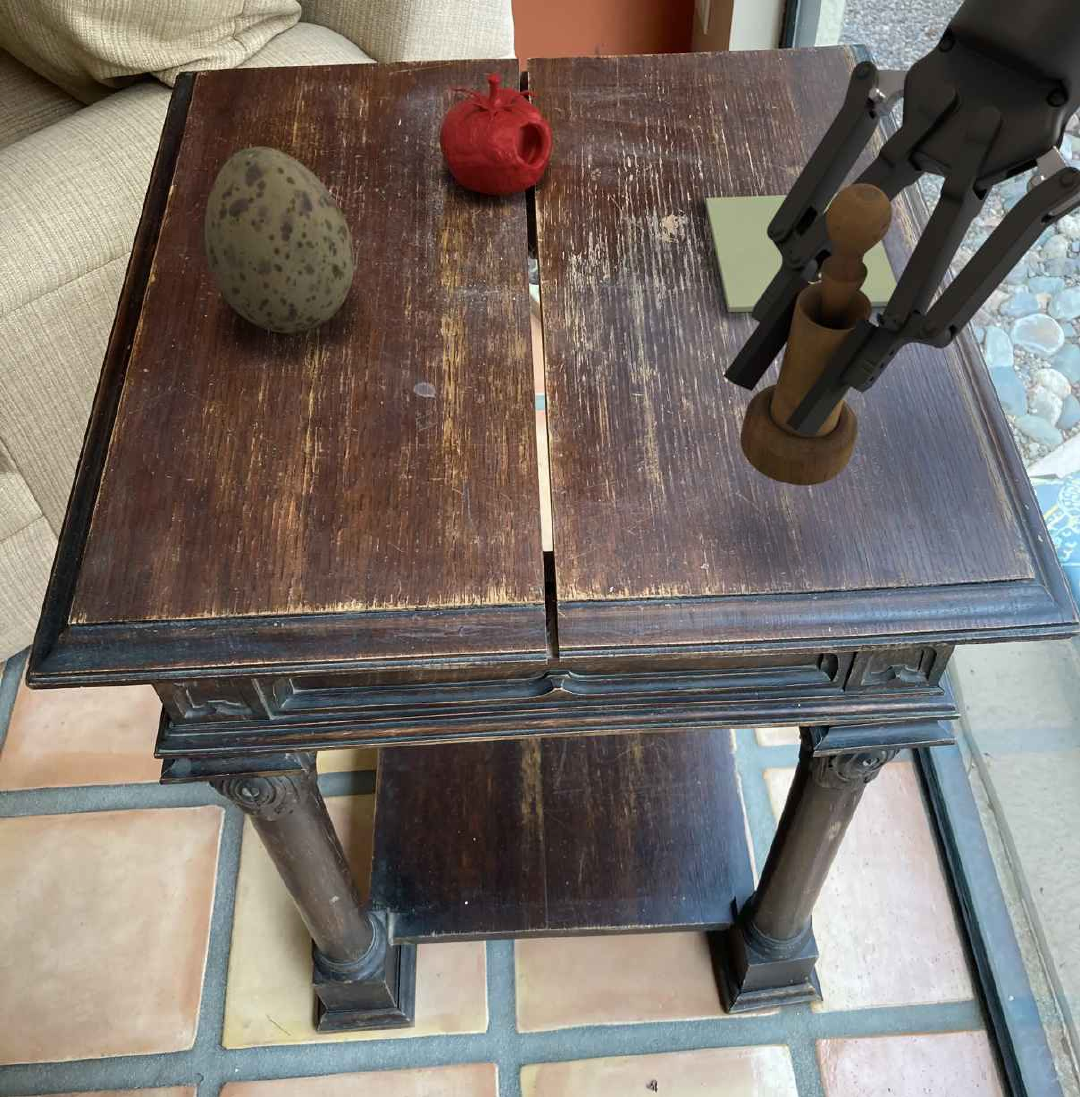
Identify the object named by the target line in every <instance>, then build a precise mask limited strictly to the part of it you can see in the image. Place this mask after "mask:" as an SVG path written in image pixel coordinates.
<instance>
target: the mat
mask: <svg viewBox="0 0 1080 1097" xmlns="http://www.w3.org/2000/svg"><path fill="white" fill-rule="evenodd" d="M838 193H839V192H836V194H835V195H834V197H835V196H836V195H837V194H838ZM787 195H788V194H779V195H778V194H777V195H776V194H775V195H749V196H748V195H747V196H725V197H724V196H722V197H706V198H705V201H704V202H705V203H704V204H705V209H706V213H707V219H708V223H709V228H710V229H709V230H710V232H711V233H710V234H711V237H712V242H713V247H714V251H715V256H716V262H717V266H718V271H719V275H720V276H719V277H720V280H721V285H722V289H723V295H724V299H725V304H726V309H727V312H728V313H745V312H746V313H747V312H748V313H749V312H752V311H753V307H754V306H755V304H756V303H757V301H758V300H759V298H761V295H762V294H763V293H764V292H765V290H766V288H767V287H768V285H769V284H770V282H771V281H772V280H773V278H774V277H775V275H776V274H777V272H778V271H779V269H780V267H781V265H782V255H781V253H780V252H779V250H778V249H777V247H776V246H775V244H774V243H773V241H772V240H771V239H770V238H769V237H768V235H767V228H768V226H769V224H770V222H771V221H772V219H773V217H774V216H775V214H776V213H777V211H778V209H779V208H780V206H781V205H782V203H783V201H784V200H785V198H786V197H787ZM834 197H833V198H832V200H833V199H834ZM832 200H831V201H832ZM830 203H831V202H830ZM830 203H829V205H830ZM829 205H828V206H827V208H826V209H825V211H826V210H827V209H828V207H829ZM825 211H824V212H825ZM863 263H864V264H865V265H866V267H867V270H868V274H867V277H866V279H865V281H864V283H863V285H862V287H861V289H860V290H861V291H862V292H863V293H864V294H865V295H866V296H867V297H868V298H869V300H870V302H871V306H872V308H873V307H874V308H875V307H876V308H879V307H886V306H887V304H888V302H889V300H890V298H891V296H892V294H893V292H894V290H895V288H896V286H897V284H898V283H897V282H896V279H895V276H894V272H893V270H892V267H891V265H890V264H891V263H890V262H889V258H888V256H887V253H886V251H885V246H884V244H883V241H882V240H880V241H879V242H878V243H877V244H876V245H875V246H874V247H873V248H871V249H870V250H869V251H868V252H866V253H865V254H864V257H863ZM819 277H820V278H821V273H820V274H819ZM819 282H821V280H820V281H819ZM809 283H811V284H814V283H812V282H809ZM816 283H817V282H816Z"/></svg>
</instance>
